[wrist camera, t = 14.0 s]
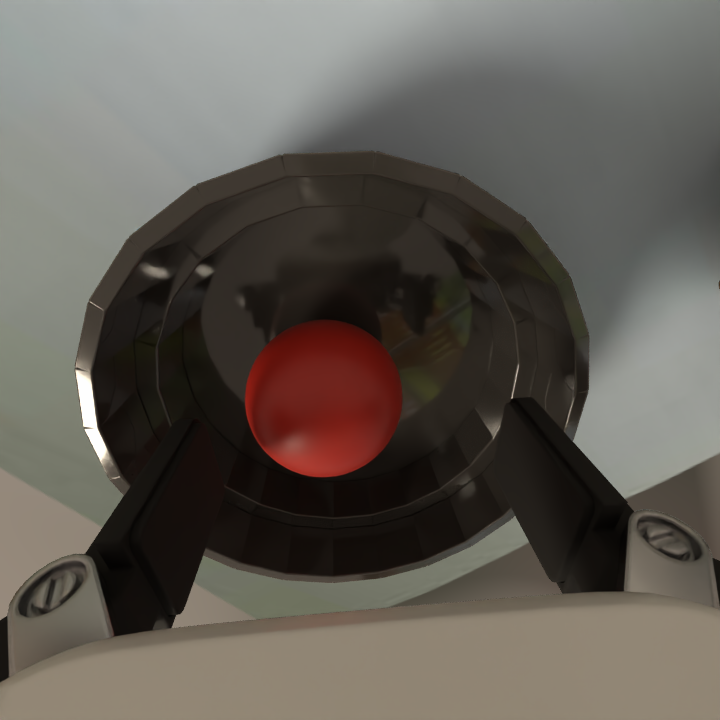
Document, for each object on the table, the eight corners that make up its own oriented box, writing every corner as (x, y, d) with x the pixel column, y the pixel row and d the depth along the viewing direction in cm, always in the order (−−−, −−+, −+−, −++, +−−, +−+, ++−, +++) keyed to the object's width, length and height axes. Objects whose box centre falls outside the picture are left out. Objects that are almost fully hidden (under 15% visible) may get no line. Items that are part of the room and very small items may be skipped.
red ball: (405, 308, 15) (398, 338, 9) (404, 432, 17) (398, 522, 11) (275, 310, 16) (197, 337, 10) (287, 427, 18) (224, 506, 12)
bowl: (545, 157, 14) (668, 140, 9) (488, 476, 21) (535, 563, 16) (98, 174, 13) (-49, 164, 8) (207, 500, 20) (168, 600, 15)
